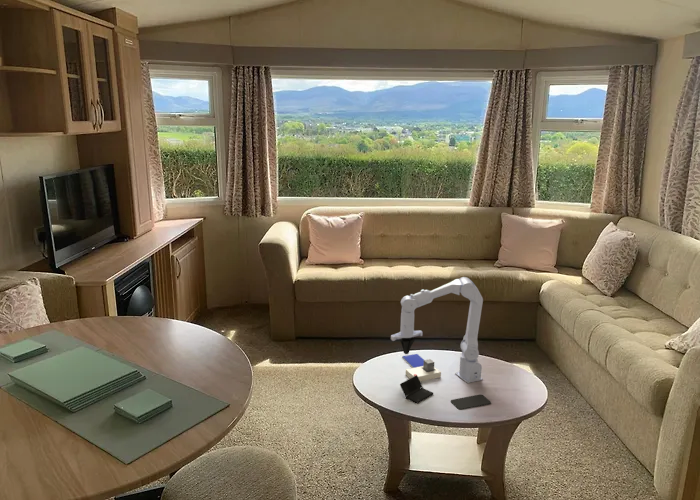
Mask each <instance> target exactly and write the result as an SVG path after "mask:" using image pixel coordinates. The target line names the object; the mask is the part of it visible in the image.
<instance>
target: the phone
mask: <svg viewBox="0 0 700 500" xmlns="http://www.w3.org/2000/svg"><path fill="white" fill-rule="evenodd" d="M450 403H451V404H452V405H453V406H454V407H455V408H456V409H458V410H459V411H460V410H466V409H472V408H477V407H478V408H479V407H485V406H488V405H491V404H492V401H491V400H490V399H488V397H486V396H485V395H484V394H481V393H480V394H476V395H475V394H474V395H469V396H464V397H459V398H454V399H451V400H450Z"/></svg>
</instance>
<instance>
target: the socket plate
mask: <svg viewBox="0 0 700 500" xmlns="http://www.w3.org/2000/svg"><path fill="white" fill-rule="evenodd" d="M405 376H406V377H408V378H409V379H411V378H412V377H414V376H418V378H419V380H420V383H421V382H425V381H429V380H434V379H438V378H441V377H442V371H440V369H438V368H437V367H435V366H434V371H431V372H426V371H425V370H423V366H420V367H415V368H412V367H411V368H406V369H405Z"/></svg>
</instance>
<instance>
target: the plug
mask: <svg viewBox="0 0 700 500" xmlns="http://www.w3.org/2000/svg"><path fill="white" fill-rule="evenodd" d="M434 367H435V361H433V360H432V359H430V358H429V359H428V358H427V359H424V363H423V370H425V371H426V372H431V371H434Z"/></svg>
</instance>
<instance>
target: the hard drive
mask: <svg viewBox="0 0 700 500" xmlns="http://www.w3.org/2000/svg"><path fill="white" fill-rule="evenodd" d="M401 359H402V360H404V361H405V363H407V365H409V367H411V368H415V367H420V366H423V363H424V360H425V359H424V358H423V357H422V356H420V355H419V354H418V353H414V354H405V355H403V356H402V358H401Z"/></svg>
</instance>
